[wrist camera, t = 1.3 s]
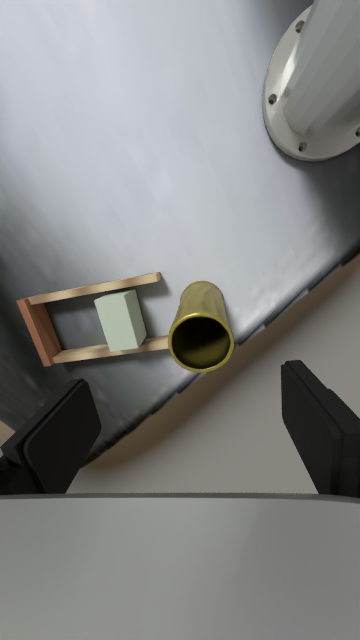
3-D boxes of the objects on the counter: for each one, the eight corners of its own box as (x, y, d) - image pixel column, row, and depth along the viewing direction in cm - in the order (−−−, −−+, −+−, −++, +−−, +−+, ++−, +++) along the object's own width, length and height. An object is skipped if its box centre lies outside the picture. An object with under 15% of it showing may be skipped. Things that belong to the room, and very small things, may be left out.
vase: (232, 304, 30) (256, 348, 16) (199, 330, 31) (197, 390, 18) (203, 271, 29) (203, 289, 15) (171, 300, 30) (146, 340, 17)
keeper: (135, 288, 30) (123, 295, 26) (146, 335, 32) (138, 348, 28) (109, 293, 31) (93, 300, 27) (122, 338, 33) (110, 351, 29)
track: (159, 271, 29) (154, 274, 26) (174, 340, 32) (171, 350, 29) (33, 296, 33) (16, 300, 30) (57, 356, 36) (44, 366, 33)
